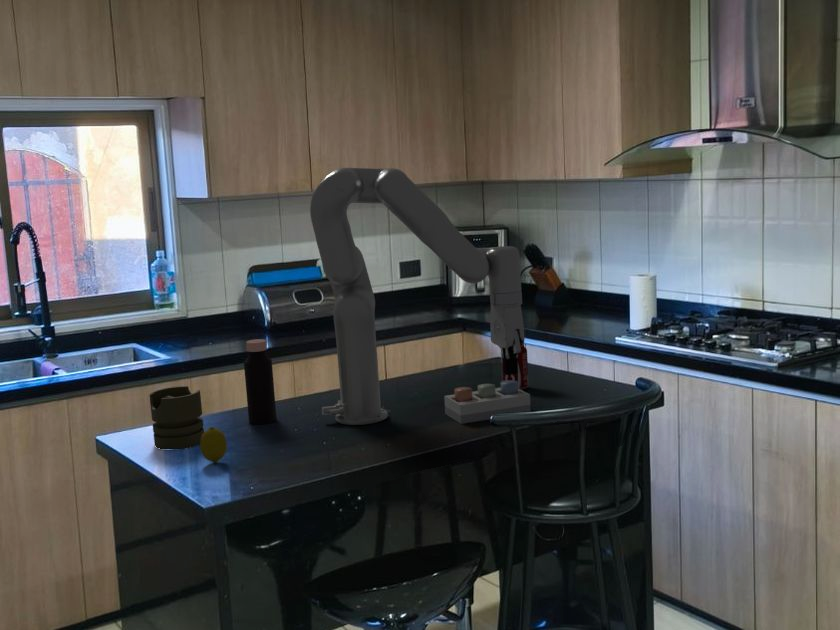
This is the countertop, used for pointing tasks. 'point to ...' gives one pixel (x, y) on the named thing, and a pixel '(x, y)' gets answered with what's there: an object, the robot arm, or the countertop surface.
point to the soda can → (519, 370)
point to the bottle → (259, 383)
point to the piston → (176, 418)
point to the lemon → (213, 444)
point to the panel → (486, 406)
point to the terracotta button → (463, 394)
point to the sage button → (486, 391)
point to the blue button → (509, 387)
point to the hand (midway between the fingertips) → (510, 373)
